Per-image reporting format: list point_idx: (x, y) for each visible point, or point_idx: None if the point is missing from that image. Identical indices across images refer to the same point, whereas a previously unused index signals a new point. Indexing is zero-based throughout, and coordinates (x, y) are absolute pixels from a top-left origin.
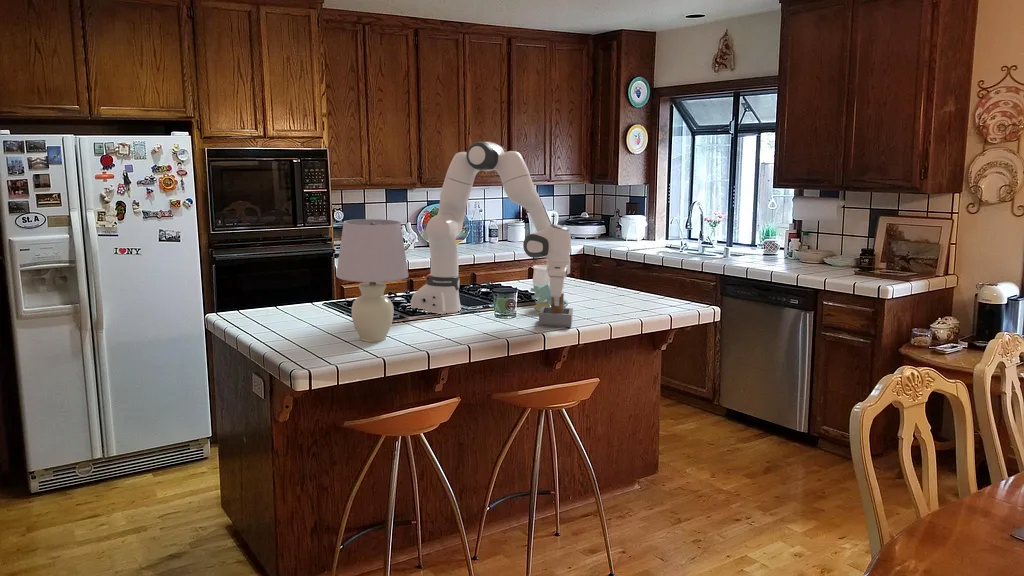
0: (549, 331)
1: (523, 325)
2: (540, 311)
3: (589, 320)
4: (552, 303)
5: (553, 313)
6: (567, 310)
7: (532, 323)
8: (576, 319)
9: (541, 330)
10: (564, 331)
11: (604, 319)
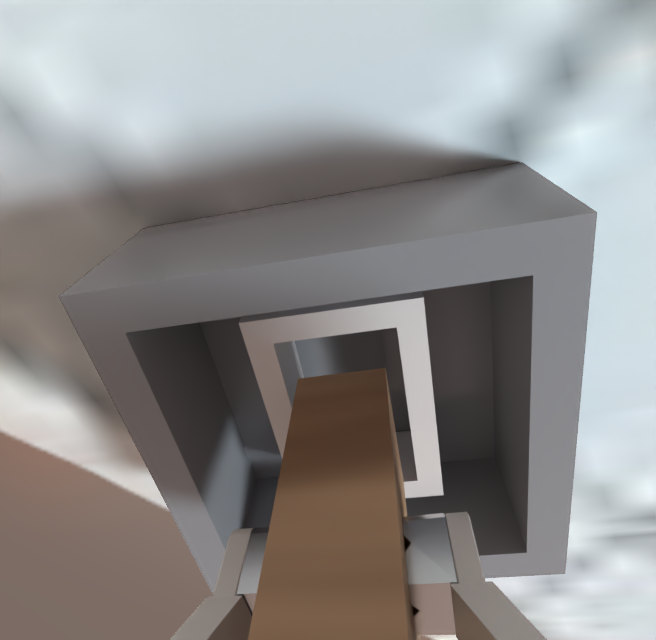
0: (23, 365)
1: (70, 24)
2: (184, 285)
3: (575, 551)
4: (279, 513)
5: (168, 454)
6: (519, 516)
7: (243, 113)
8: (596, 474)
9: (3, 295)
10: (108, 459)
11: (633, 616)
